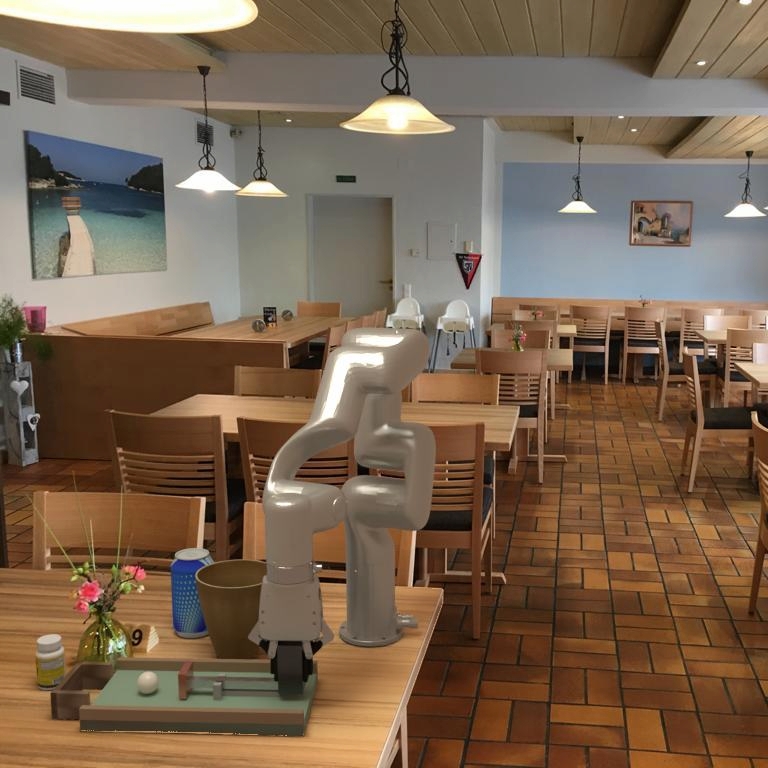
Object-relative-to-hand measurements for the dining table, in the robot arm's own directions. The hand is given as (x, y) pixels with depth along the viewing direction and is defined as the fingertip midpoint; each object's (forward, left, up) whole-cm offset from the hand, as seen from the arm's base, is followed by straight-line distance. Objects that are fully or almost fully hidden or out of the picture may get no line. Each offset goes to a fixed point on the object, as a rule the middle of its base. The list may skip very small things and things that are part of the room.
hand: (292, 677), depth 144 cm
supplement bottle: (+43, -6, -5) cm, 44 cm away
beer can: (+24, -29, -5) cm, 38 cm away
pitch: (+14, 0, -5) cm, 15 cm away
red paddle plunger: (+8, 0, -3) cm, 9 cm away
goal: (+35, 0, -5) cm, 35 cm away
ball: (+24, 0, -1) cm, 24 cm away
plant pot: (+13, -19, -5) cm, 24 cm away
